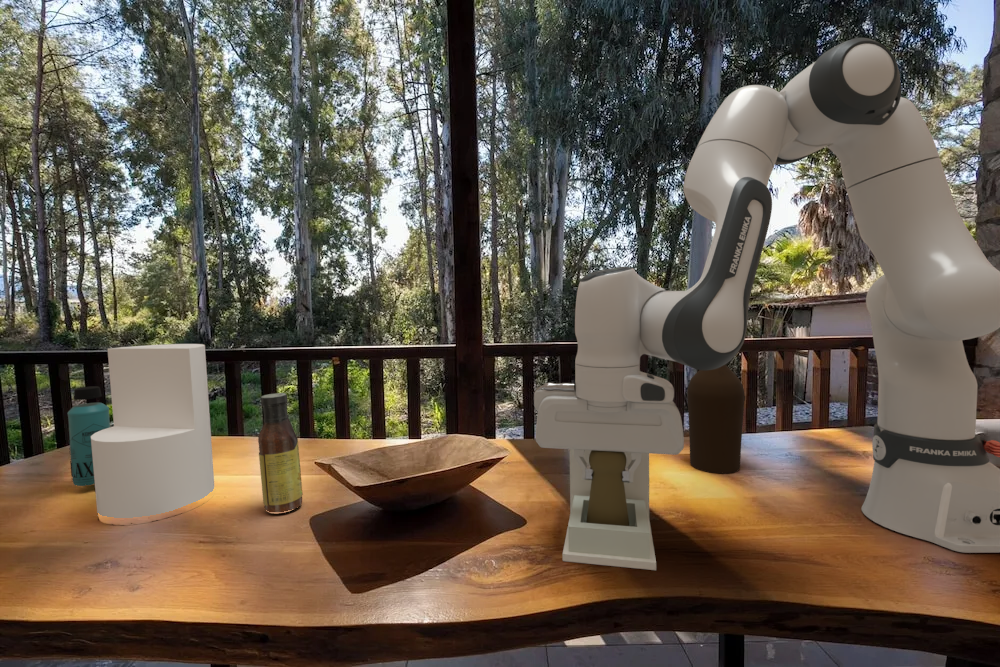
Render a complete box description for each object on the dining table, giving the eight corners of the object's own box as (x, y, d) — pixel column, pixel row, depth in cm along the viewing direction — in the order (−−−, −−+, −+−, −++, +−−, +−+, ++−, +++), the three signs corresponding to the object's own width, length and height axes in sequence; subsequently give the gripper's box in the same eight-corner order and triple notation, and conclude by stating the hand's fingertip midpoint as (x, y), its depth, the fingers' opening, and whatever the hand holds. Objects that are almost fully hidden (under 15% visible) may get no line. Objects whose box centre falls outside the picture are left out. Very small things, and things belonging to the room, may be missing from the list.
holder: (648, 521, 76) (648, 439, 75) (656, 570, 63) (656, 471, 62) (571, 515, 79) (570, 436, 78) (562, 561, 65) (561, 466, 64)
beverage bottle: (65, 491, 94) (55, 389, 93) (103, 479, 100) (95, 383, 99) (85, 496, 92) (76, 391, 90) (123, 483, 98) (115, 384, 97)
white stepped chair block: (161, 482, 98) (150, 343, 96) (236, 487, 94) (226, 343, 92) (69, 521, 81) (54, 354, 79) (156, 529, 78) (143, 354, 76)
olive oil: (708, 477, 94) (709, 348, 92) (676, 459, 104) (677, 343, 102) (755, 472, 96) (757, 345, 94) (720, 455, 106) (721, 341, 105)
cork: (586, 531, 67) (586, 454, 67) (586, 512, 73) (585, 441, 73) (631, 534, 66) (631, 455, 66) (627, 514, 72) (627, 442, 72)
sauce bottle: (311, 504, 86) (305, 392, 84) (281, 519, 80) (274, 399, 79) (284, 498, 88) (277, 390, 87) (254, 512, 83) (246, 397, 81)
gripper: (530, 386, 68) (531, 483, 69) (686, 390, 63) (685, 494, 64) (537, 378, 74) (538, 467, 75) (680, 381, 69) (679, 476, 70)
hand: (607, 480), depth 69 cm, fingers closed on cork, 4 cm apart
